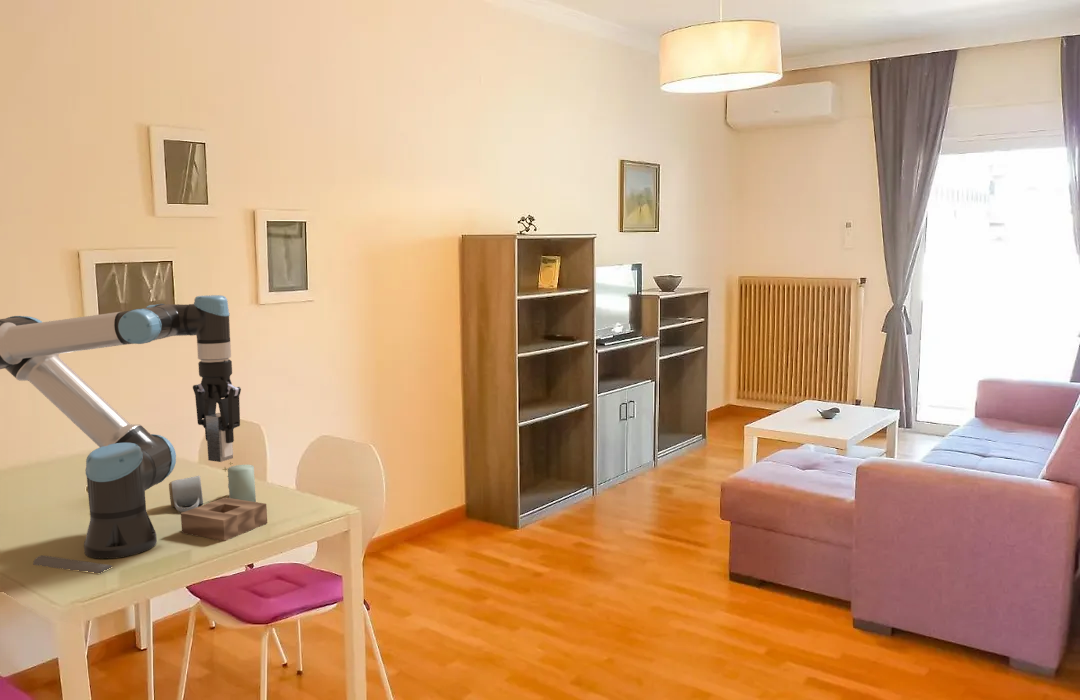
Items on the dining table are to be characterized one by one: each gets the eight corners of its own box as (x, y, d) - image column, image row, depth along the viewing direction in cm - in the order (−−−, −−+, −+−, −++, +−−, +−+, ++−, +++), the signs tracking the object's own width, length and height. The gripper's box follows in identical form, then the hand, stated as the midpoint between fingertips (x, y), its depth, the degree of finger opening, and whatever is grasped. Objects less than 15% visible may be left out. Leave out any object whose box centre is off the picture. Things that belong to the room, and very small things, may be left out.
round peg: (243, 513, 225) (240, 472, 224) (224, 510, 228) (222, 469, 227) (261, 506, 231) (259, 465, 230) (243, 503, 234) (240, 463, 233)
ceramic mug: (170, 503, 235) (168, 476, 234) (202, 499, 238) (200, 472, 237) (171, 515, 225) (168, 486, 224) (204, 511, 228) (202, 482, 227)
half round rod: (99, 577, 185) (98, 569, 184) (31, 567, 191) (30, 559, 191) (115, 570, 189) (114, 562, 188) (48, 560, 195) (47, 552, 195)
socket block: (224, 540, 204) (223, 520, 204) (182, 533, 210) (180, 513, 210) (267, 523, 217) (266, 503, 216) (225, 516, 223) (224, 497, 222)
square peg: (220, 462, 209) (217, 417, 208) (208, 460, 211) (205, 415, 209) (233, 458, 212) (230, 414, 211) (220, 456, 214) (218, 412, 213)
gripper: (253, 359, 208) (258, 454, 211) (201, 356, 216) (206, 448, 218) (229, 363, 201) (235, 461, 204) (176, 360, 209) (182, 455, 212)
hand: (220, 454), depth 211 cm, fingers closed on square peg, 4 cm apart
